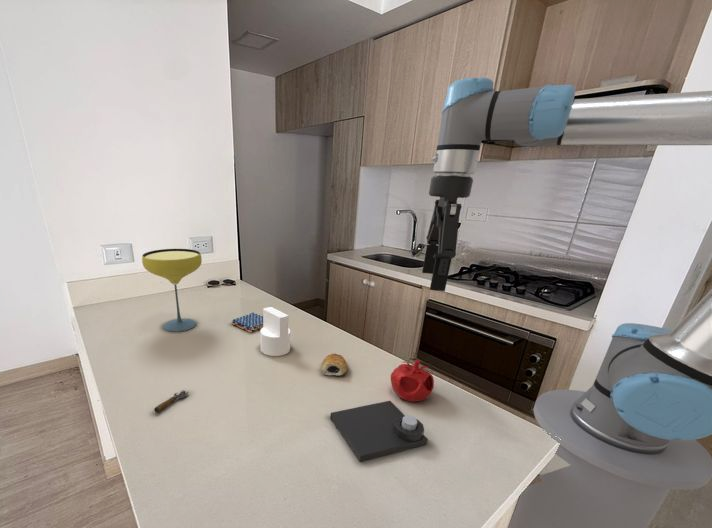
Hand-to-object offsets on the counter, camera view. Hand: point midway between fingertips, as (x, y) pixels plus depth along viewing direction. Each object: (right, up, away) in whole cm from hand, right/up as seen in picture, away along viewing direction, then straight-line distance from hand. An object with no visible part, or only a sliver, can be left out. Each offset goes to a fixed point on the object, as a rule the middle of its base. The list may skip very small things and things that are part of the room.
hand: (432, 281), depth 74 cm
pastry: (-19, -22, +19) cm, 35 cm away
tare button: (-7, -30, -6) cm, 31 cm away
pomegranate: (-2, -27, +9) cm, 29 cm away
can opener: (-58, -28, +4) cm, 64 cm away
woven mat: (-45, -11, +46) cm, 66 cm away
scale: (-13, -31, -3) cm, 34 cm away
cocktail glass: (-70, -11, +44) cm, 83 cm away
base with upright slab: (-36, -18, +30) cm, 50 cm away
